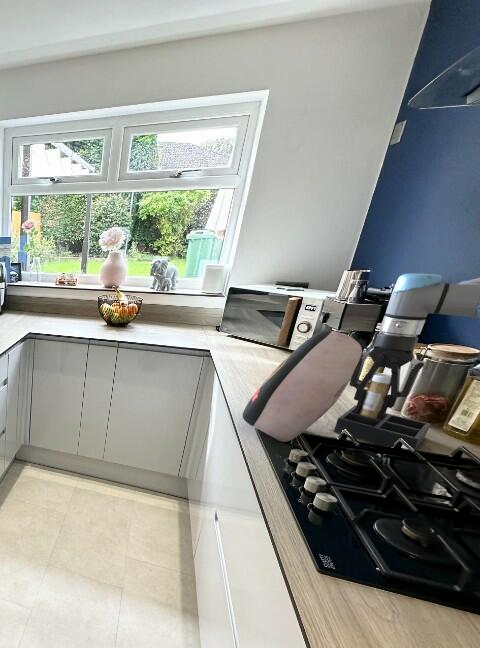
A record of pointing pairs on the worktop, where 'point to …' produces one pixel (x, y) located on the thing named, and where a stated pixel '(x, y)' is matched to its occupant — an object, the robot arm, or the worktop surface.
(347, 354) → the pinkish grey rounded block
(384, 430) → the grid
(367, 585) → the worktop surface
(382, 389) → the sprinkles bottle
